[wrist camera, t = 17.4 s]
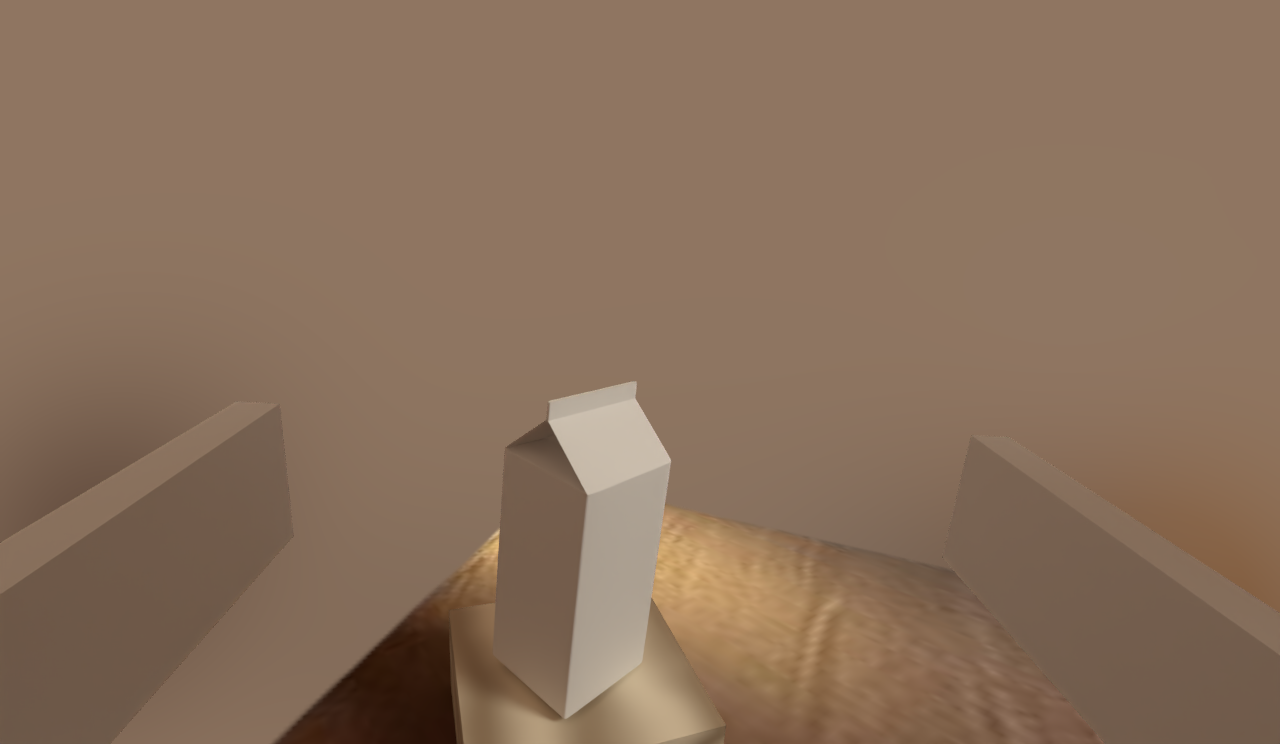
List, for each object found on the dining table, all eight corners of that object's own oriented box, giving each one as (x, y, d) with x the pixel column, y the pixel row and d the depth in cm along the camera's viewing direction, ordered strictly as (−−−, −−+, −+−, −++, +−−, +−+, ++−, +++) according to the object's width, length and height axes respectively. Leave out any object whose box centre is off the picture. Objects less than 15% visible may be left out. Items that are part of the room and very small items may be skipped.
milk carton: (643, 664, 42) (681, 398, 37) (564, 723, 37) (595, 423, 32) (570, 611, 47) (595, 366, 41) (491, 657, 41) (507, 383, 36)
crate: (635, 649, 53) (640, 578, 51) (714, 812, 40) (725, 725, 38) (450, 687, 48) (448, 610, 46) (470, 889, 35) (469, 793, 33)
